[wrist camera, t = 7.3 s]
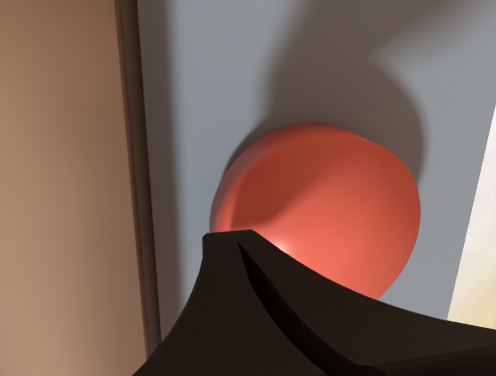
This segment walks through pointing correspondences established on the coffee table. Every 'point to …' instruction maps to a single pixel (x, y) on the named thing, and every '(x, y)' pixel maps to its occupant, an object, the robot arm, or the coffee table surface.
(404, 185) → the red ball
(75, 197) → the board
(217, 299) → the robot arm
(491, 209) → the coffee table surface
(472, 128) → the mat
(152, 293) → the coffee table surface
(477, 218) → the coffee table surface
